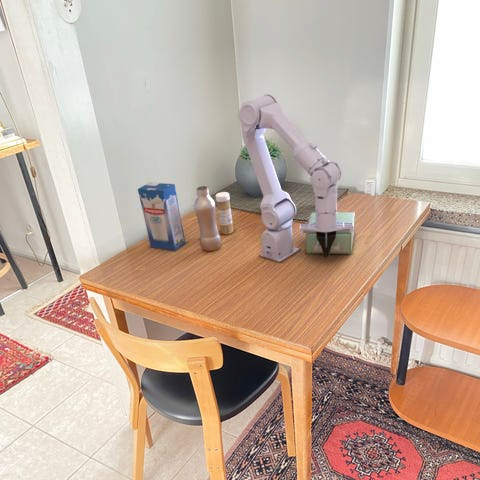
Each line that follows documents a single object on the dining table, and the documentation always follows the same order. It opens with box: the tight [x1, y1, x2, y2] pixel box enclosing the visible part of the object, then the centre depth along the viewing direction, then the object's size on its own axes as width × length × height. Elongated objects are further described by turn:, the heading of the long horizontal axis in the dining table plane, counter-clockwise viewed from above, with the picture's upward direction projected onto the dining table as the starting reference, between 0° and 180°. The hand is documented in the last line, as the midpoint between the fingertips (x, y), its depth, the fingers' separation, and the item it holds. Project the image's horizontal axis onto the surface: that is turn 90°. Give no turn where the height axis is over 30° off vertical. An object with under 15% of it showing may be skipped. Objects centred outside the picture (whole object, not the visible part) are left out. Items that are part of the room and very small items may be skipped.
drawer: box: [308, 233, 350, 253], centre depth 145 cm, size 18×12×6 cm, turn 166°
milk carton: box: [137, 182, 186, 252], centre depth 156 cm, size 10×6×20 cm, turn 62°
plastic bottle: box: [193, 185, 222, 252], centre depth 150 cm, size 6×7×20 cm
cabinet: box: [305, 211, 355, 255], centre depth 147 cm, size 14×13×7 cm
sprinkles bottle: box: [214, 191, 234, 235], centre depth 161 cm, size 5×5×13 cm
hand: (326, 255), depth 137 cm, fingers closed, pressing on drawer
